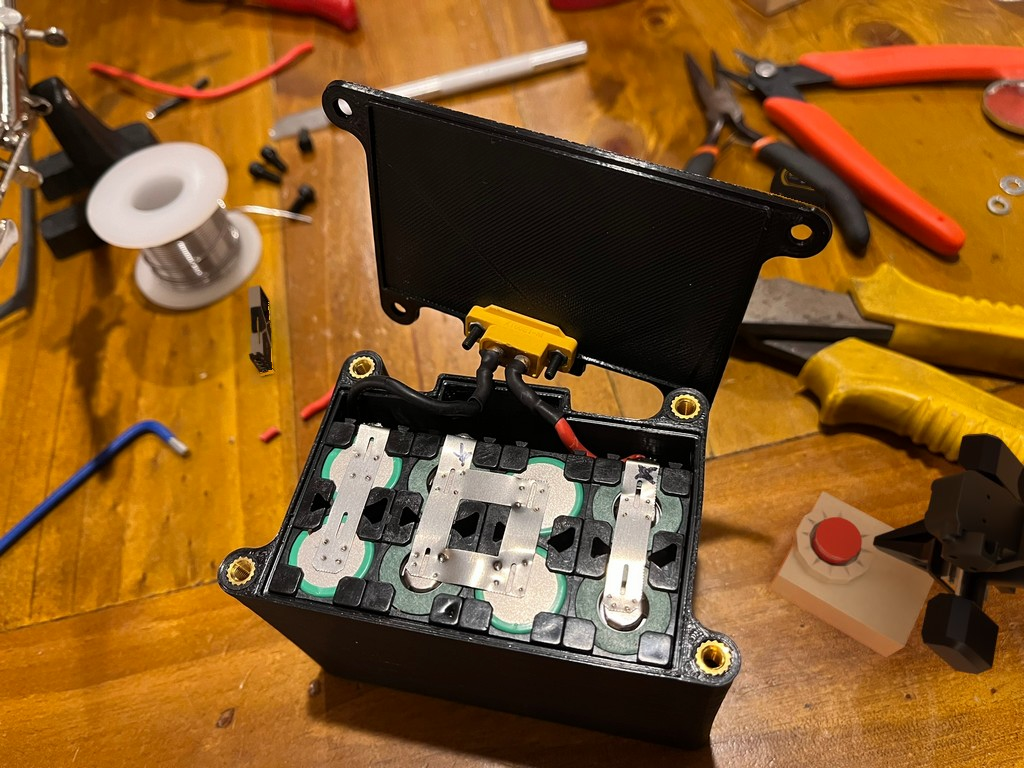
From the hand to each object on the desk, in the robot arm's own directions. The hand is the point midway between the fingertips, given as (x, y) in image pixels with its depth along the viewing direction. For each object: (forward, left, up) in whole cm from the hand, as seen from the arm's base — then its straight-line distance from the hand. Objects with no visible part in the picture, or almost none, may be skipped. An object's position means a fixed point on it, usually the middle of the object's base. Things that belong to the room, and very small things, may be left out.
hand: (875, 543), depth 69 cm
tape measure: (+25, -43, -10) cm, 50 cm away
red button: (+3, 0, -3) cm, 4 cm away
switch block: (0, 0, -10) cm, 10 cm away
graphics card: (+73, +10, -10) cm, 74 cm away
